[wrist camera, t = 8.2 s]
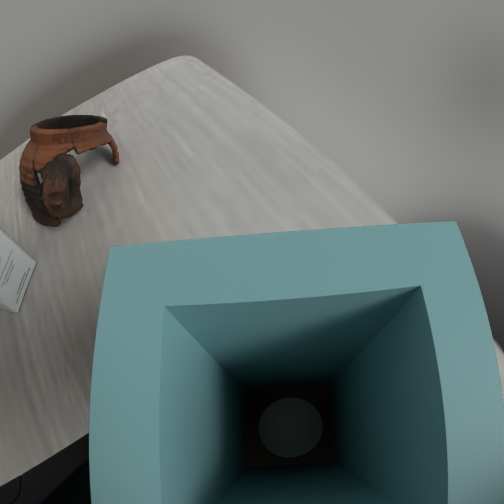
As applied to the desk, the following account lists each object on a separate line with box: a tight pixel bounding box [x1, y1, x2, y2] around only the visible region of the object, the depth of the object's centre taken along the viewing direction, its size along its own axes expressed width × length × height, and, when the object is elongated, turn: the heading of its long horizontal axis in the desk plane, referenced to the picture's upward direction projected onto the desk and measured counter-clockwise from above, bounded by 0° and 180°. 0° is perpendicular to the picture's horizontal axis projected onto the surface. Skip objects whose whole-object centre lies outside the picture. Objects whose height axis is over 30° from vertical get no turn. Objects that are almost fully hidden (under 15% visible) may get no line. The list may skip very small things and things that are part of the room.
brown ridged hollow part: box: [19, 115, 119, 226], centre depth 23 cm, size 12×9×8 cm
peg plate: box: [246, 384, 332, 466], centre depth 13 cm, size 10×10×5 cm
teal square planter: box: [89, 221, 504, 504], centre depth 9 cm, size 6×6×12 cm
